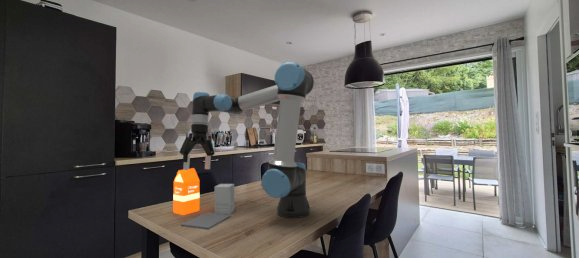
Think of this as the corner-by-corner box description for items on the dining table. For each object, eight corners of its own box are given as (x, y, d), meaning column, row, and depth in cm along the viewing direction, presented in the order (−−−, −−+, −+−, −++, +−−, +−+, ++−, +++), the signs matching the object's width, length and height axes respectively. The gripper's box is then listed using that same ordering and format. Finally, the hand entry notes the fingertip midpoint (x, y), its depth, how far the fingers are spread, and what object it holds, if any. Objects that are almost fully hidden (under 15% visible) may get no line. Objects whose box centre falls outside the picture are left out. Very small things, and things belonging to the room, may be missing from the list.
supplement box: (234, 210, 119) (235, 183, 120) (229, 214, 112) (229, 186, 112) (220, 209, 120) (220, 183, 120) (213, 214, 112) (214, 186, 113)
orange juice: (199, 210, 119) (199, 168, 120) (183, 215, 111) (183, 170, 112) (189, 208, 123) (189, 167, 124) (172, 212, 115) (173, 169, 116)
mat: (206, 214, 113) (206, 212, 113) (231, 216, 109) (231, 215, 109) (180, 225, 98) (180, 224, 98) (208, 229, 94) (208, 227, 94)
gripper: (211, 128, 131) (209, 168, 128) (172, 121, 108) (169, 170, 106) (222, 127, 128) (221, 169, 125) (185, 120, 105) (182, 170, 103)
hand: (197, 169), depth 116 cm, fingers open, 13 cm apart
